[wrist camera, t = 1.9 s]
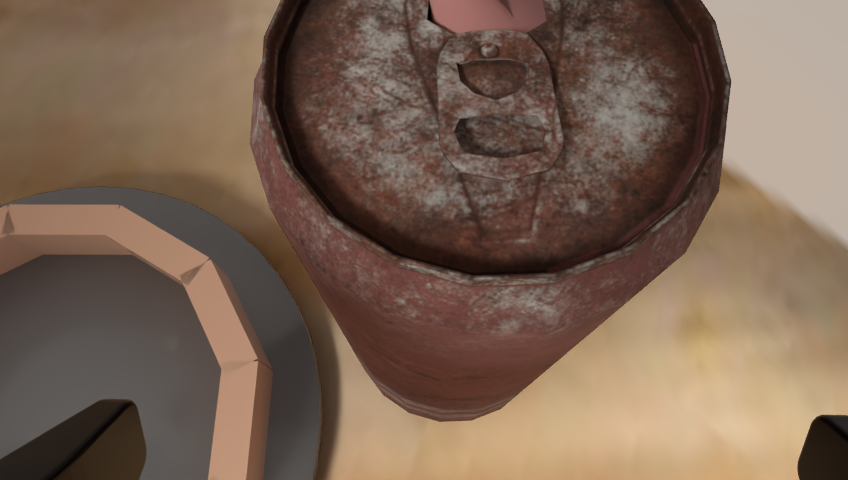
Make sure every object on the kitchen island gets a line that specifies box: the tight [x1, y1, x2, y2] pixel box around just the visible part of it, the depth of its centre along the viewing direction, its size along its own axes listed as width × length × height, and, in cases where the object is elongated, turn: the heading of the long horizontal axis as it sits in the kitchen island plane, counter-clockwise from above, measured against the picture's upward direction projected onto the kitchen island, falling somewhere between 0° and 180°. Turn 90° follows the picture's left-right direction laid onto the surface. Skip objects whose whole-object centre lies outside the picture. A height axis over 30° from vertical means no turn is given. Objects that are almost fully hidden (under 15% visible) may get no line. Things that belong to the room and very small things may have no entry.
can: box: [250, 0, 731, 422], centre depth 13 cm, size 6×6×14 cm
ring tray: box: [0, 187, 322, 480], centre depth 18 cm, size 16×16×3 cm
